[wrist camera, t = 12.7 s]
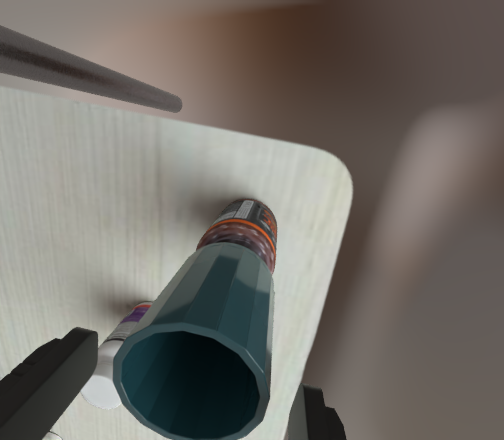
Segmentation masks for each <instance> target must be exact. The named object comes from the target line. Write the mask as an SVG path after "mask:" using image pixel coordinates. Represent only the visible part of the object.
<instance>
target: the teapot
mask: <svg viewBox="0 0 504 440" xmlns="http://www.w3.org/2000/svg"><path fill="white" fill-rule="evenodd" d="M42 440H63V439H62V438H61V437H59V436H58V435H56V434H54V433H51V432H48V433H47V434H46V435H45V437H44V438H43V439H42Z"/></svg>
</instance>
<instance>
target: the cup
mask: <svg viewBox="0 0 504 440" xmlns="http://www.w3.org/2000/svg"><path fill="white" fill-rule="evenodd" d="M274 294H275V293H274V283H273V278H272V274H271V272H270V270H269V268H268V266H267V265H266V263H265V262H264V261H263V260H262V259H261V258H260V257H259V256H258V255H257V254H256V253H254V252H253V251H252V250H250V249H248V248H246V247H244V246H241V245H238V244H234V243H227V242H220V243H213V244H209V245H206V246H204V247H202V248H200V249H198V250H197V251H195V252H194V253H193V254H192V255H191V256H190V257H188V259H187V260H186V261H185V263H184V264H183V265H182V267H181V268H180V269H179V270H178V272H177V273H176V274H175V276H174V277H173V278H172V279H171V281H170V282H169V283H168V285H167V286H166V287H165V288H164V290H163V291H162V292H161V294H160V295H159V296H158V297H157V299H156V300H155V301H154V303H153V304H152V305H151V307H150V308H149V309H148V310H147V312H146V313H145V314H144V316H143V317H142V318H141V319H140V321H139V322H138V323H137V325H136V326H135V327H134V328H133V330H132V331H131V332H130V334H129V335H128V336H127V337H126V339H125V340H124V342H123V344H122V345H121V347H120V348H119V350H118V351H117V353H116V354H115V356H114V358H113V378H112V381H113V384H114V386H115V389H116V391H117V393H118V395H119V398H120V400H121V402H122V404H123V405H124V406H125V407H126V408H127V409H128V411H129V412H130V413H131V414H132V415H133V416H134V417H135V418H136V419H137V420H138V421H139V422H140V423H142V424H143V425H144V426H146V427H148V428H150V429H151V430H153V431H155V432H157V433H158V434H160V435H162V436H163V437H166V438H168V439H172V440H238V439H240V438H243V437H245V436H247V435H248V434H249V433H250V432H251V431H252V430H253V429H254V428H256V427H257V426H258V425H259V424H260V423H261V422H262V421H263V419H264V416H265V413H266V409H267V406H268V403H269V400H270V384H271V361H272V339H273V316H274Z"/></svg>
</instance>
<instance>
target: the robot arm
mask: <svg viewBox="0 0 504 440" xmlns="http://www.w3.org/2000/svg"><path fill="white" fill-rule="evenodd" d="M97 362H98V333H97V332H96V331H92V330H88V329H84V328H80V327H76V328H74V329H72V330H71V331H70V332H69V333H68V334H67V335H66V336H65V337H64V338H62V339H57V338H55V339H53V340H52V341H50V342H48V343H46V344H44V345H42V346H40V347H39V348H37V349H36V350H35V351H34V352H33V353H32V354H30V355H29V356H28V357H27V358H26V359H25V360H24V361H23V363H20V364H19V365H18V366H17V367H16V368H14V369H13V370H12V371H11V373H10V374H8V375H6V376H5V377H4V378H3V379H2V380H1V381H0V440H42V439H43V438H44V437H45V435H46V434H47V433H48V432H49V430H50V429H51V428H52V426H53V425H54V424H55V423H56V421H57V420H58V419H59V418H60V416H61V415H62V414H63V412H64V411H65V410H66V409H67V407H68V406H69V405H70V403H71V402H72V401H73V400H74V398H75V397H76V396H77V395H78V393H79V392H80V391H81V389H82V388H83V387H84V386H85V384H86V383H87V382H88V381H89V379H90V378H91V376H92V375H93V373H94V371H95V369H96V366H97ZM288 440H346V435H345V431H344V426H343V424H342V422H341V420H340V418H339V416H338V415H337V413H336V411H335V409H334V408H329V407H326V406H325V404H324V398H323V392H322V389H321V388H319V387H315V386H311V385H307V384H303V383H301V384H300V385H299V388H298V390H297V393H296V396H295V399H294V402H293V404H292V407H291V410H290V414H289V422H288Z"/></svg>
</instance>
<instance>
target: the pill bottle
mask: <svg viewBox="0 0 504 440" xmlns="http://www.w3.org/2000/svg"><path fill="white" fill-rule="evenodd" d="M152 304H153V303H152V302H144V303H140V304H138V305H137V306H135V307H134V308H133V309H132V310H131V311H130V312H129V314H128V315H127V316H126V317H125V318H124V319H123V320H122V322H121V323H120V324H119V325H118V326H117V327H116V328H115V330H114V331H113V332H112V333H111V334H110V335H109V336H108V337H107V339H106V340H105V341H104V342H103V343H102V344H101V345H100V347H99V348H98V362H97V366H96V369H95V371H94V373H93V375H92V376H91V378H90V379H89V381H88V382H87V383H86V384H85V386H84V387H83V388H82V389H81V391H80V392H81V394H82V396H83V397H84V399H85V400H86V401H87V402H89V403H90V404H91V405H93V406H95V407H98V408H101V409H113V408H115V407H117V406H119V405H120V403H121V400H120V398H119V395H118V393H117V391H116V389H115V386H114V384H113V381H112V378H113V358H114V356H115V354H116V353H117V351H118V350H119V348H120V347H121V345H122V344H123V342H124V340H125V339H126V337H127V336H128V335H129V334H130V332H131V331H132V330H133V328H134V327H135V326H136V325H137V323H138V322H139V321H140V319H141V318H142V317H143V316H144V314H145V313H146V312H147V310H148V309H149V308H150V307H151V305H152Z"/></svg>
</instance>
